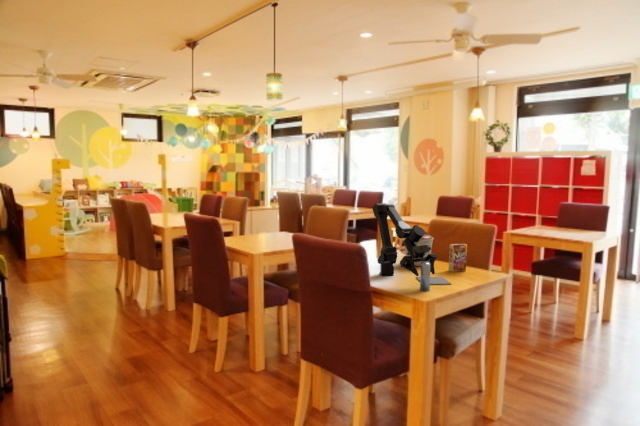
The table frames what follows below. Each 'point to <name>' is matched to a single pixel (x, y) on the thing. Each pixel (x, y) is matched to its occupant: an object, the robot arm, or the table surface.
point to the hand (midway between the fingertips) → (426, 274)
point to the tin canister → (425, 276)
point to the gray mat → (437, 281)
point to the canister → (424, 240)
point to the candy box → (457, 257)
